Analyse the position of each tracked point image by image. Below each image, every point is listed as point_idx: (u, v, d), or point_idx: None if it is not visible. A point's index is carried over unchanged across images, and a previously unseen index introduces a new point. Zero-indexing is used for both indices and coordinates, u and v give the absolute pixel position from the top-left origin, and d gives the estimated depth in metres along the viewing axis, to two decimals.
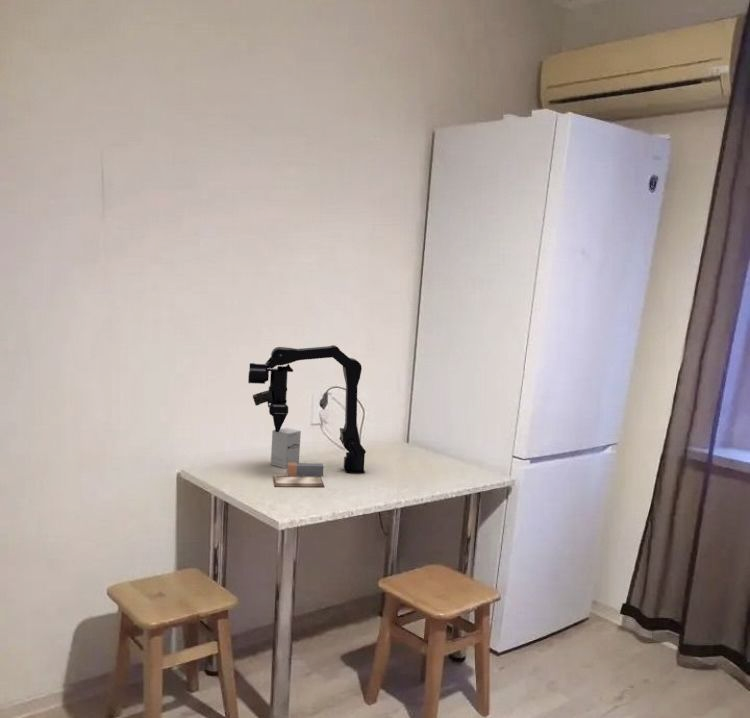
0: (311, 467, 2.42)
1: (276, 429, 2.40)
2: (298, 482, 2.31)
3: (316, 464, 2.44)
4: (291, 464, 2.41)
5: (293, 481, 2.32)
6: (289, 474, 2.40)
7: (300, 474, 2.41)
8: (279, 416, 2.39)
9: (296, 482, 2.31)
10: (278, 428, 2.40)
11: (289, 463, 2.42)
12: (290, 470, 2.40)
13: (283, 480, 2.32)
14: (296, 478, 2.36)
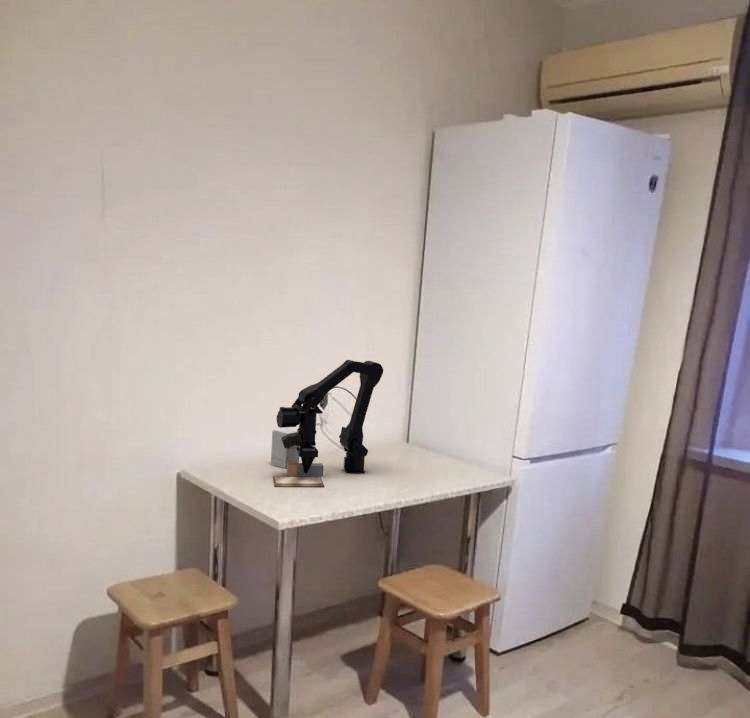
0: (311, 467, 2.42)
1: (305, 470, 2.41)
2: (298, 482, 2.31)
3: (316, 464, 2.44)
4: (291, 464, 2.41)
5: (293, 481, 2.32)
6: (289, 474, 2.40)
7: (300, 474, 2.41)
8: (308, 457, 2.40)
9: (296, 482, 2.31)
10: (306, 469, 2.41)
11: (289, 463, 2.42)
12: (290, 470, 2.40)
13: (283, 480, 2.32)
14: (296, 478, 2.36)
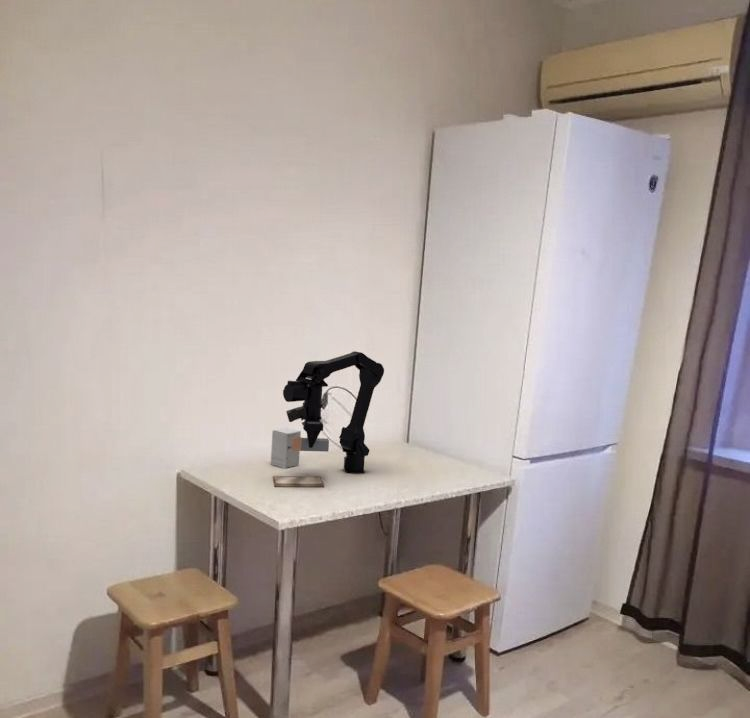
0: (316, 442, 2.36)
1: (310, 445, 2.35)
2: (298, 482, 2.31)
3: (321, 439, 2.38)
4: (296, 438, 2.36)
5: (293, 481, 2.32)
6: (294, 448, 2.35)
7: (305, 449, 2.36)
8: (313, 431, 2.34)
9: (296, 482, 2.31)
10: (312, 444, 2.35)
11: (294, 437, 2.37)
12: (295, 444, 2.35)
13: (283, 480, 2.32)
14: (296, 478, 2.36)
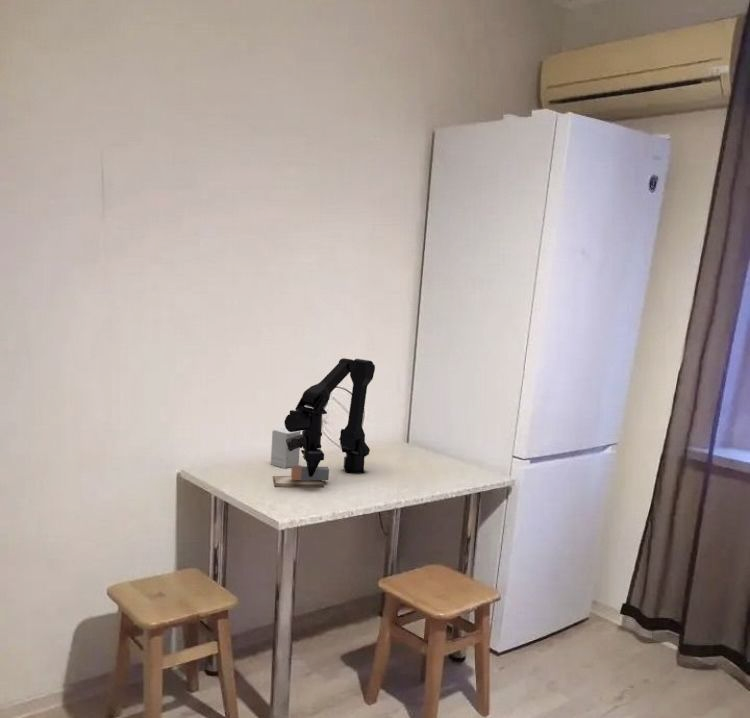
0: (316, 470, 2.33)
1: (310, 474, 2.32)
2: (298, 482, 2.31)
3: (321, 467, 2.35)
4: (295, 467, 2.32)
5: (293, 481, 2.32)
6: (293, 478, 2.31)
7: (305, 478, 2.32)
8: (313, 460, 2.31)
9: (296, 482, 2.31)
10: (312, 473, 2.32)
11: (293, 466, 2.33)
12: (294, 473, 2.31)
13: (283, 480, 2.32)
14: None
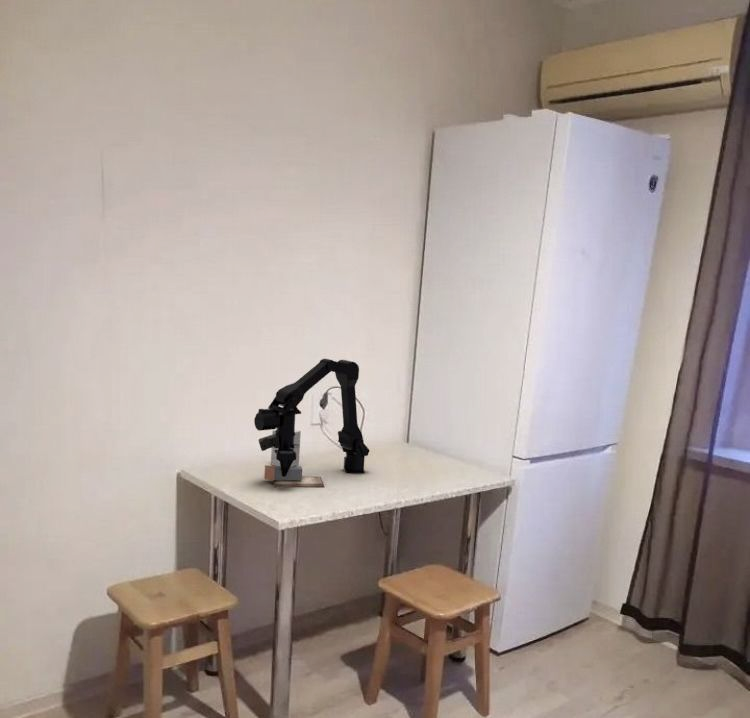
0: (289, 470, 2.31)
1: (283, 474, 2.30)
2: (298, 482, 2.31)
3: (295, 467, 2.34)
4: (268, 467, 2.31)
5: (293, 481, 2.32)
6: (266, 478, 2.30)
7: (278, 478, 2.31)
8: (286, 460, 2.29)
9: (296, 482, 2.31)
10: (285, 473, 2.30)
11: (266, 466, 2.32)
12: (267, 473, 2.30)
13: (283, 480, 2.32)
14: None
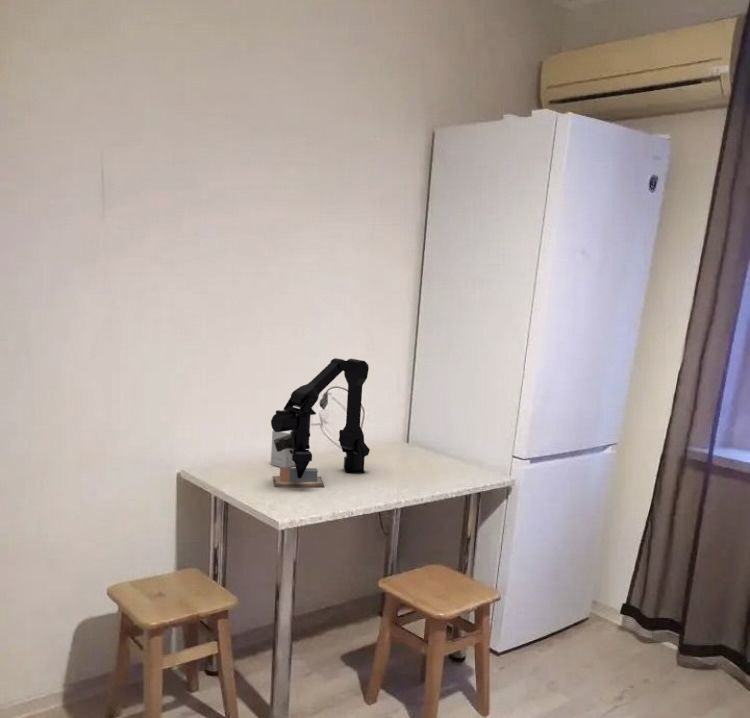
0: (305, 472, 2.32)
1: (299, 475, 2.30)
2: (298, 482, 2.31)
3: (310, 469, 2.35)
4: (284, 469, 2.32)
5: None
6: (282, 479, 2.31)
7: (293, 479, 2.32)
8: (302, 462, 2.29)
9: (296, 482, 2.31)
10: (300, 474, 2.30)
11: (282, 468, 2.33)
12: (283, 475, 2.31)
13: None
14: None
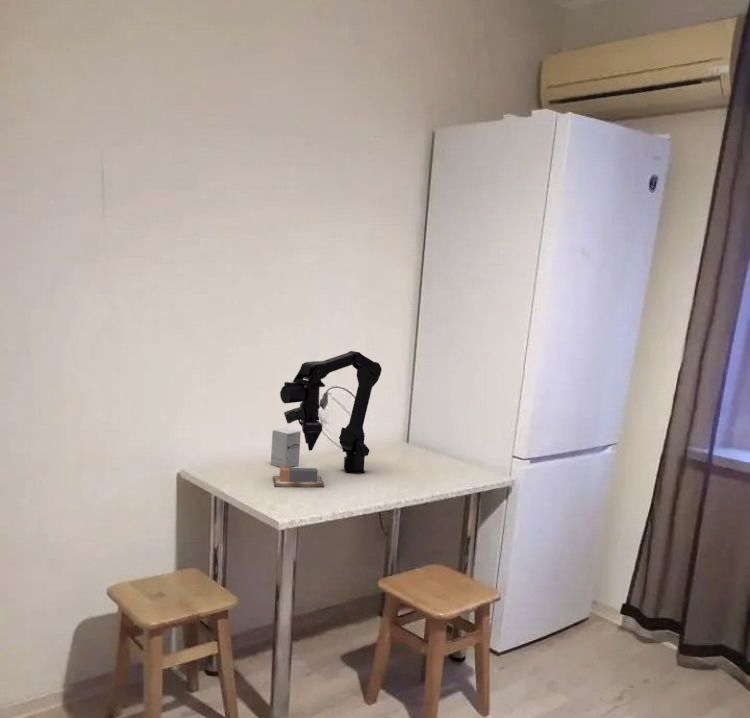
0: (305, 472, 2.32)
1: (310, 447, 2.32)
2: (298, 482, 2.31)
3: (310, 469, 2.35)
4: (284, 469, 2.32)
5: None
6: (282, 479, 2.31)
7: (293, 479, 2.32)
8: (312, 434, 2.31)
9: (296, 482, 2.31)
10: (311, 446, 2.32)
11: (282, 468, 2.33)
12: (283, 475, 2.31)
13: None
14: None
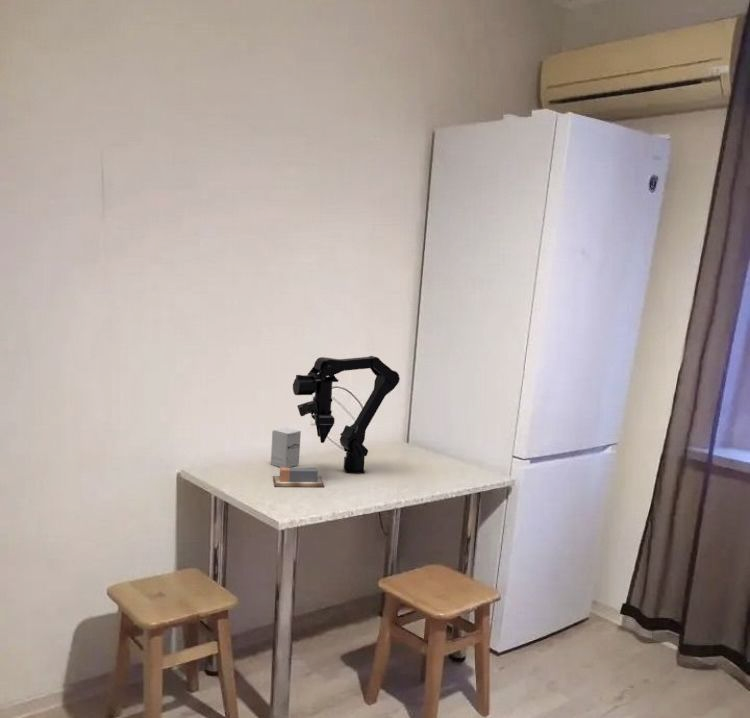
0: (305, 472, 2.32)
1: (322, 440, 2.39)
2: (298, 482, 2.31)
3: (310, 469, 2.35)
4: (284, 469, 2.32)
5: None
6: (282, 479, 2.31)
7: (293, 479, 2.32)
8: (325, 427, 2.38)
9: (296, 482, 2.31)
10: (323, 439, 2.39)
11: (282, 468, 2.33)
12: (283, 475, 2.31)
13: None
14: None
